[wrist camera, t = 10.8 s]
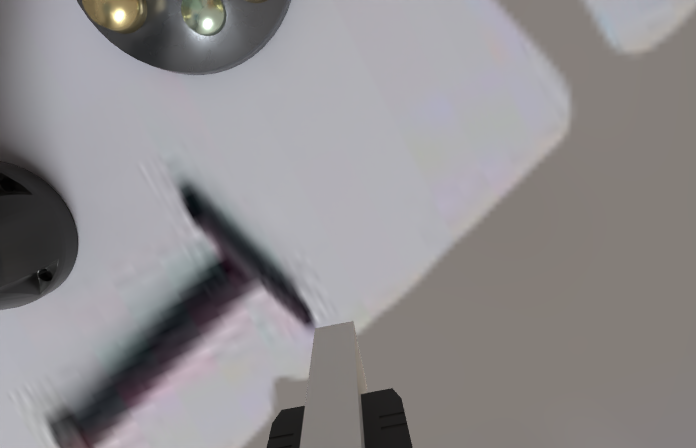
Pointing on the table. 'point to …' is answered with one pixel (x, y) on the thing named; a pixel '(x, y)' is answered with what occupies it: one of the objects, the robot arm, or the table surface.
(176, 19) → the tribrach plate
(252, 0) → the lever
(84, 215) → the table surface
